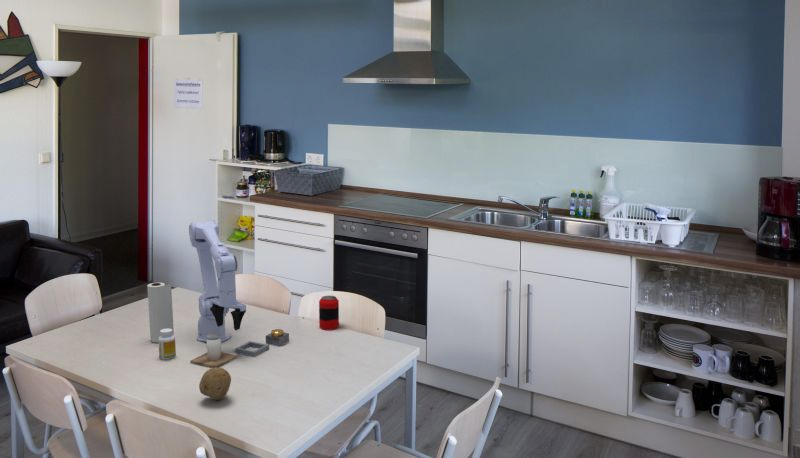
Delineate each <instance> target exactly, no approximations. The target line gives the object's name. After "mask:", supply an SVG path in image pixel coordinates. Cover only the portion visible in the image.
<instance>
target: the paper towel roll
mask: <svg viewBox="0 0 800 458" xmlns="http://www.w3.org/2000/svg"><path fill="white" fill-rule="evenodd" d="M146 286H147V301H148V315H149V316H148V317H149V318H148V319H149V334H150V336H149V337H150V342H151V343H157V344H159V342H158V339H159V337H160V336H161V335H160V330H162V329H172V332H173V334H172V335H174V336H175V331H174V313H173V312H174V311H173V296H172V295H173V294H172V284H171V283H170V284H169V283H168V284H166V283H163V282H152V283H149V284H147V285H146Z"/></svg>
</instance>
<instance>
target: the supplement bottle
mask: <svg viewBox="0 0 800 458" xmlns="http://www.w3.org/2000/svg"><path fill="white" fill-rule="evenodd" d="M172 334H173V332H172V329H162V330H160V335H161V336H160V337H159V339H158V342H159V343H158V355H159V359H160V360H165V361H166V360H173V359H174V358H176V356H177V353H176V352H177V351H176V337H175V334H174V335H172Z"/></svg>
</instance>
